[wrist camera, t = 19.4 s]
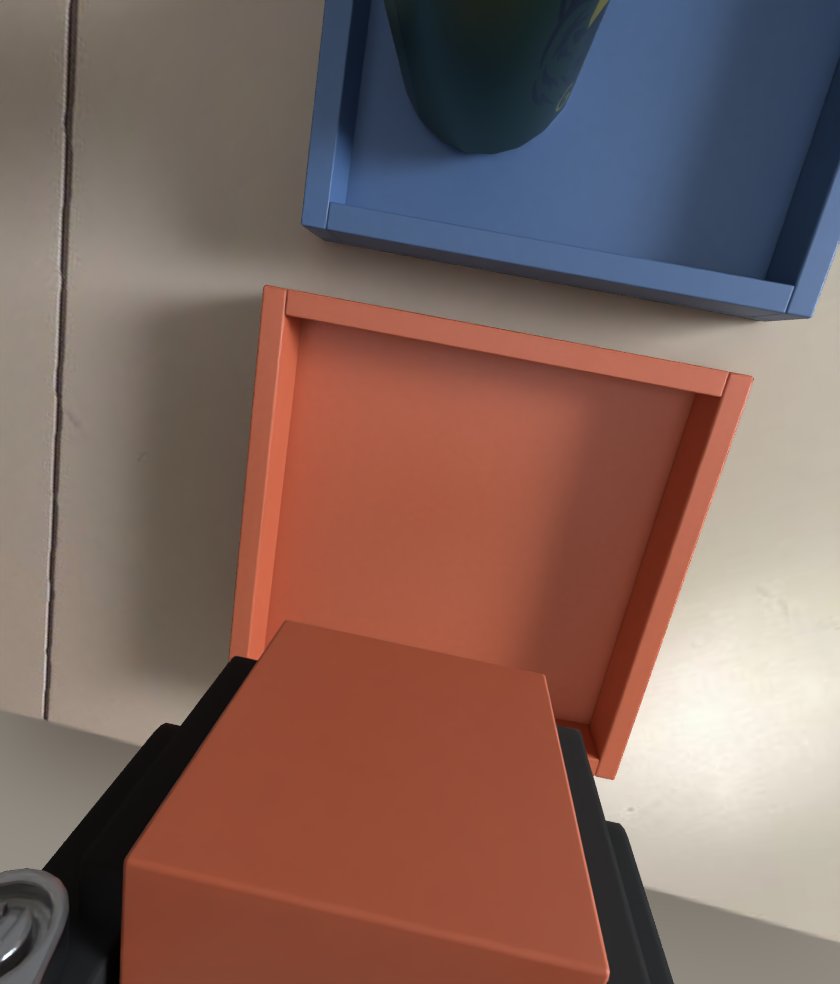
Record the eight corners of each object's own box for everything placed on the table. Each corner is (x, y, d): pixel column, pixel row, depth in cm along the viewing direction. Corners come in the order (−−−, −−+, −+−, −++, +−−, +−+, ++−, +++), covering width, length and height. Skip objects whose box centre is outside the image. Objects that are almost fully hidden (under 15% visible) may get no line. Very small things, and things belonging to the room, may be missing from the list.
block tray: (249, 660, 24) (224, 697, 22) (288, 291, 20) (262, 284, 17) (599, 734, 23) (614, 781, 21) (718, 372, 19) (756, 376, 17)
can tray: (322, 240, 19) (300, 224, 17) (378, -230, 16) (361, -339, 13) (766, 321, 19) (812, 318, 16) (927, -146, 15) (1018, -243, 13)
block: (259, 822, 10) (110, 1159, 6) (285, 618, 9) (120, 859, 5) (488, 874, 10) (500, 1257, 6) (546, 673, 9) (613, 974, 5)
